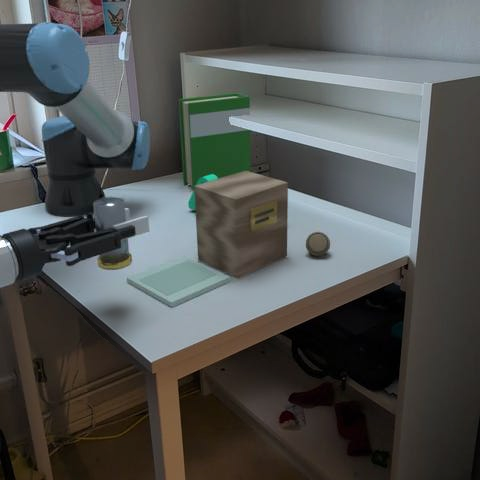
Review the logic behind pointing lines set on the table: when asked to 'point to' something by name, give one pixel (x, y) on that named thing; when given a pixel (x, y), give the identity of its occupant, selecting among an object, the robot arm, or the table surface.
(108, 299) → the table surface
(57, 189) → the robot arm
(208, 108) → the hardback book
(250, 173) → the block
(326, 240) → the door knob
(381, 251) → the table surface
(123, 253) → the grey glass cylinder
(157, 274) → the pad
